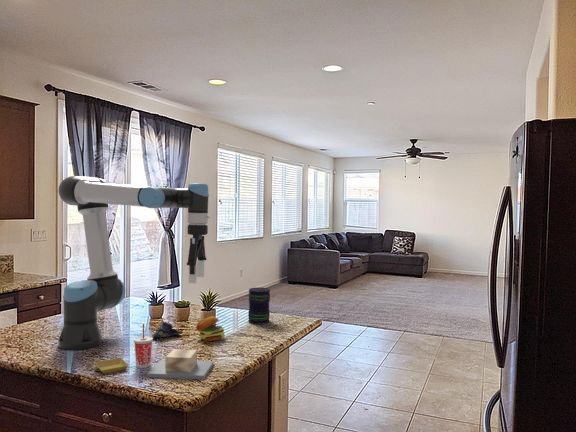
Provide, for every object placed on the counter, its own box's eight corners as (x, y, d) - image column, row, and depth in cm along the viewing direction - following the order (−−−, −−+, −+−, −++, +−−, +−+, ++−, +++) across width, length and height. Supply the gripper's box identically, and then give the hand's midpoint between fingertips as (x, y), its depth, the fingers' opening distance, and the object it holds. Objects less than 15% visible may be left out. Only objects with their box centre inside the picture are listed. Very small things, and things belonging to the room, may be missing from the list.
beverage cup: (134, 369, 152) (134, 326, 151) (132, 363, 157) (133, 322, 157) (153, 367, 154) (154, 325, 154) (151, 361, 160) (151, 320, 159)
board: (146, 377, 145) (147, 373, 145) (160, 362, 158) (160, 359, 158) (204, 379, 144) (204, 375, 144) (213, 364, 157) (213, 361, 157)
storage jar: (245, 320, 218) (245, 288, 218) (264, 318, 222) (265, 286, 222) (252, 325, 209) (253, 292, 209) (272, 323, 213) (273, 290, 213)
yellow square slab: (129, 371, 151) (129, 364, 151) (101, 376, 146) (101, 370, 146) (121, 363, 158) (121, 357, 158) (94, 368, 153) (94, 362, 153)
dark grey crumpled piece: (150, 333, 195) (149, 341, 183) (153, 317, 195) (152, 324, 183) (180, 336, 198) (181, 344, 186) (183, 321, 198) (184, 328, 187)
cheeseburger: (220, 343, 182) (215, 317, 182) (195, 347, 184) (190, 322, 184) (229, 335, 192) (223, 311, 192) (205, 339, 194) (199, 316, 194)
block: (165, 371, 148) (165, 357, 147) (173, 362, 156) (173, 349, 155) (190, 372, 147) (190, 357, 147) (196, 363, 155) (197, 349, 155)
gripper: (200, 226, 164) (199, 286, 165) (213, 222, 189) (212, 275, 190) (179, 225, 165) (178, 285, 165) (195, 222, 189) (194, 274, 190)
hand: (196, 280), depth 178 cm, fingers open, 13 cm apart
